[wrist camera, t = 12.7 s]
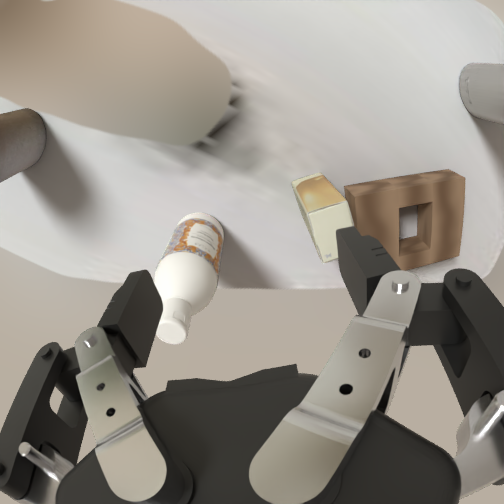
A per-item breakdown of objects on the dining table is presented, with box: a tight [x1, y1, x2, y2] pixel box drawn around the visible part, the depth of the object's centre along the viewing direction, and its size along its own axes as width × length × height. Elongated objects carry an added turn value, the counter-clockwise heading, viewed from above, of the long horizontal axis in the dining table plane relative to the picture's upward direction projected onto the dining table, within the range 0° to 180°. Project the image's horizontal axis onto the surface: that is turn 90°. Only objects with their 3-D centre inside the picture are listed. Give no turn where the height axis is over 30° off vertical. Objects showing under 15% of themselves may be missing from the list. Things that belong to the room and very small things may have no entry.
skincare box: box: [292, 173, 354, 264], centre depth 35 cm, size 6×4×12 cm
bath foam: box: [154, 213, 224, 344], centre depth 34 cm, size 7×7×20 cm
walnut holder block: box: [344, 169, 465, 271], centre depth 40 cm, size 18×13×4 cm
